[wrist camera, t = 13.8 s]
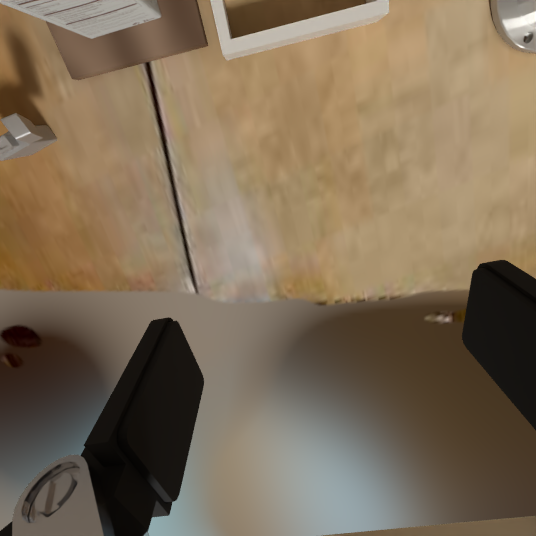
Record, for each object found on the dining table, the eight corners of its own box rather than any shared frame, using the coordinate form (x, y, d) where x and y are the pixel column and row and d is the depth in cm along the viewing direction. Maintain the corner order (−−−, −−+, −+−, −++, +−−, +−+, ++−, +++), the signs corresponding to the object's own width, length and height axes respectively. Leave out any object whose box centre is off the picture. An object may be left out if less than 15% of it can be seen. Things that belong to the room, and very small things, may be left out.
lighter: (30, 155, 33) (-33, 167, 26) (18, 140, 32) (-50, 149, 25) (78, 128, 32) (25, 133, 25) (67, 111, 31) (9, 112, 24)
